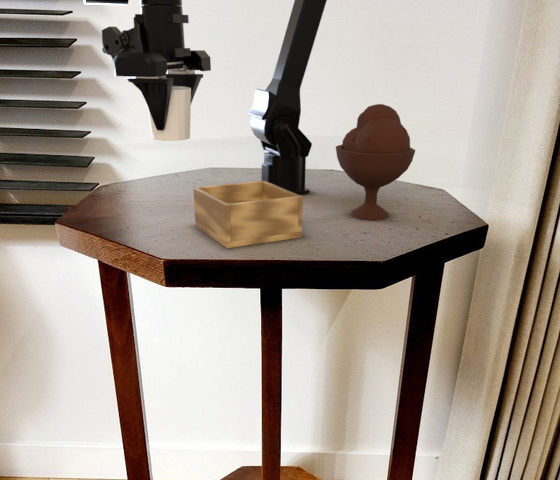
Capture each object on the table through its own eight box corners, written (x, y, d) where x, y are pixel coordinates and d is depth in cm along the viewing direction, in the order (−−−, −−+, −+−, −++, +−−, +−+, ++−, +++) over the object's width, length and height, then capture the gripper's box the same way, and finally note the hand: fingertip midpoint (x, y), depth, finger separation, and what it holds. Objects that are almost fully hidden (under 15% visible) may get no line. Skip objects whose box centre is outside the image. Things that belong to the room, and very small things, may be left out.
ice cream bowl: (319, 210, 91) (324, 102, 84) (382, 204, 95) (392, 100, 88) (354, 228, 83) (362, 110, 75) (421, 220, 87) (436, 107, 79)
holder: (264, 218, 87) (264, 180, 84) (301, 237, 79) (303, 196, 76) (195, 226, 83) (193, 187, 80) (226, 248, 74) (225, 205, 72)
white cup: (184, 142, 88) (180, 89, 84) (140, 140, 89) (135, 88, 86) (200, 135, 93) (197, 86, 90) (159, 134, 95) (154, 85, 91)
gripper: (143, 8, 93) (153, 118, 100) (70, 3, 77) (88, 133, 85) (209, 8, 90) (214, 121, 97) (147, 2, 74) (159, 137, 82)
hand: (170, 127), depth 90 cm, fingers closed on white cup, 6 cm apart
